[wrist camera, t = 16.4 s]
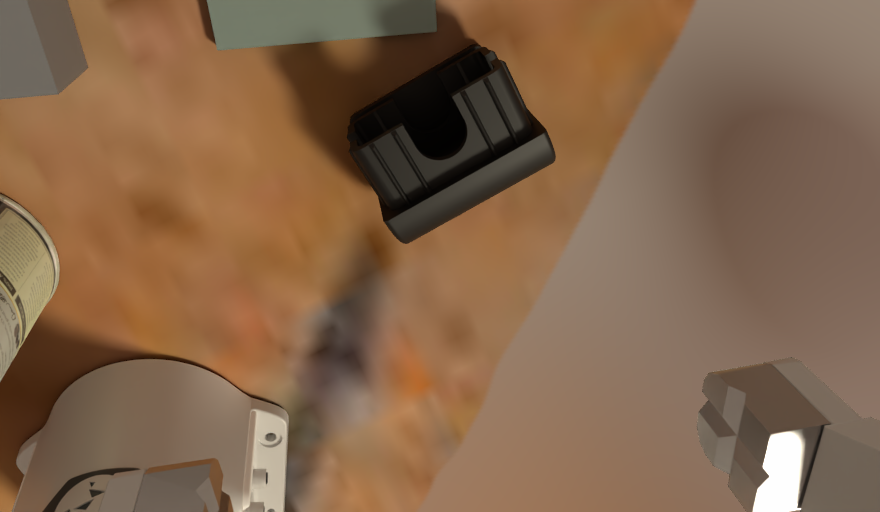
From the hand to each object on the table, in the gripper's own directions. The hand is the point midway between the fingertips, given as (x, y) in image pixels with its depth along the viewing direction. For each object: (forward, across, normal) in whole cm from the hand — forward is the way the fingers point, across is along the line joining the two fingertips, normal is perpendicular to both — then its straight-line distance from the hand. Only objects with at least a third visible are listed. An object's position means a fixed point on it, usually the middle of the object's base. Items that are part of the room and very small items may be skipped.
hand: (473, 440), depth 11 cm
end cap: (+32, +5, -5) cm, 32 cm away
